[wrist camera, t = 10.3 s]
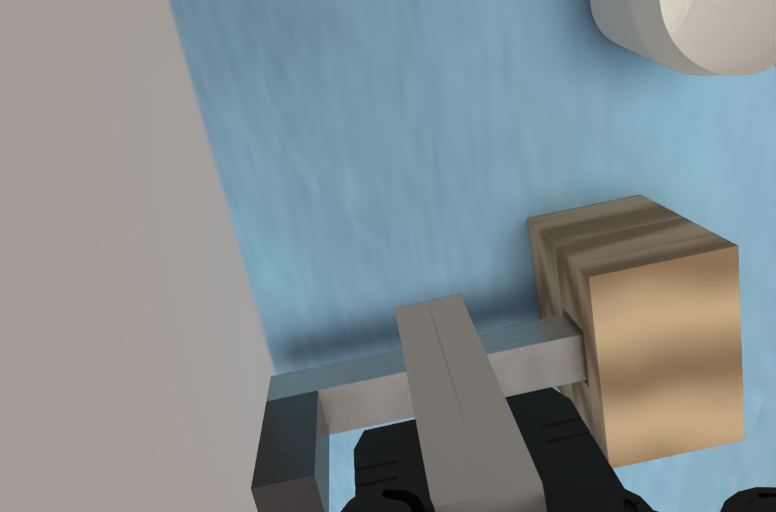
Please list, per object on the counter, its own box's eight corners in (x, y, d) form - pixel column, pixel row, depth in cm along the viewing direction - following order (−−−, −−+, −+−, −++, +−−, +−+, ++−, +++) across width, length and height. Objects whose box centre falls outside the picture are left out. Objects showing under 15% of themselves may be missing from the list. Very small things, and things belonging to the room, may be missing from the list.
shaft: (270, 376, 42) (250, 488, 32) (667, 292, 43) (776, 376, 32) (282, 418, 43) (266, 540, 33) (670, 335, 44) (776, 431, 33)
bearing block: (527, 218, 47) (588, 277, 36) (640, 194, 47) (738, 245, 36) (547, 371, 51) (609, 468, 40) (653, 349, 51) (744, 440, 40)
